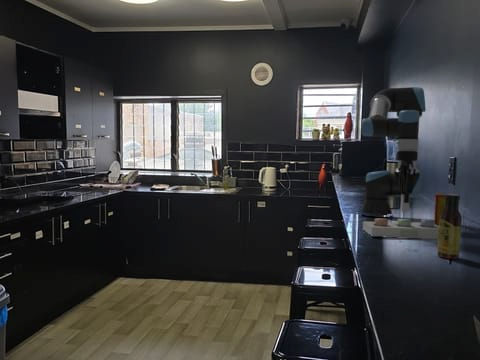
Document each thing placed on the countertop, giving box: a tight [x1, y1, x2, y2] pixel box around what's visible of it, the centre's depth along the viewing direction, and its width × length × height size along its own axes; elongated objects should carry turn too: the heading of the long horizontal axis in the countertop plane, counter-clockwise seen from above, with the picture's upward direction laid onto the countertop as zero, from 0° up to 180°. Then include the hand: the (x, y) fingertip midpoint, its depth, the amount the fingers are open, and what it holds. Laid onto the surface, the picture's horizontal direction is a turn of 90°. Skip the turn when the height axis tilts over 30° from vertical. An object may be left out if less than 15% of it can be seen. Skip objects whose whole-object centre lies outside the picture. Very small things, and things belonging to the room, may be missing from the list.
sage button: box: [397, 218, 412, 227], centre depth 172 cm, size 5×5×3 cm
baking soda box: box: [432, 192, 447, 226], centre depth 184 cm, size 10×6×16 cm
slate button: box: [420, 218, 435, 228], centre depth 172 cm, size 5×5×3 cm
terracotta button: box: [373, 218, 389, 226], centre depth 172 cm, size 5×5×3 cm
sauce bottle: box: [437, 193, 463, 260], centre depth 136 cm, size 6×6×20 cm
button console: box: [362, 220, 439, 240], centre depth 174 cm, size 15×28×4 cm, turn 88°
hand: (404, 210), depth 172 cm, fingers closed
